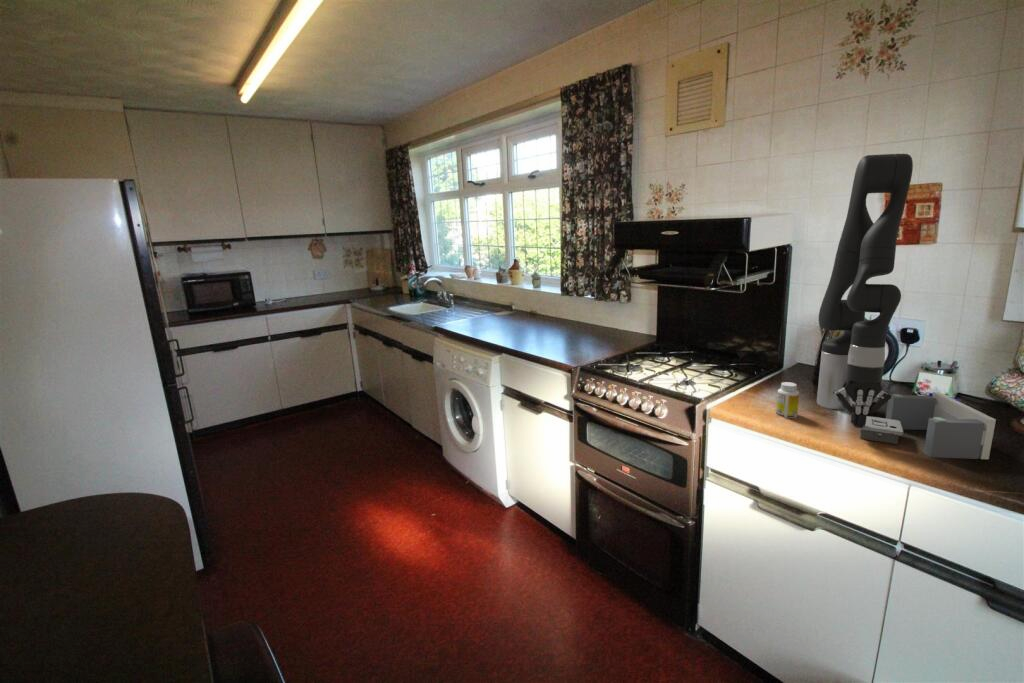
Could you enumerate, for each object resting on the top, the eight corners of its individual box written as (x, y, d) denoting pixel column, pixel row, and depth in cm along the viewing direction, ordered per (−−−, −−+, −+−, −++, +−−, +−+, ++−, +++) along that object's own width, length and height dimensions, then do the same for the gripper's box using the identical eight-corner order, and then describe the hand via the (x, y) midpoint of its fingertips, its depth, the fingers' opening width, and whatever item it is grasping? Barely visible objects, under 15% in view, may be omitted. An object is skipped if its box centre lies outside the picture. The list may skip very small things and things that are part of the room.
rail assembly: (884, 425, 133) (889, 391, 131) (933, 426, 131) (939, 392, 129) (930, 457, 115) (936, 418, 112) (988, 459, 112) (996, 419, 110)
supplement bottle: (798, 415, 143) (801, 383, 141) (794, 421, 139) (797, 388, 137) (778, 411, 147) (780, 380, 144) (773, 417, 143) (776, 384, 140)
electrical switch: (905, 433, 119) (860, 420, 124) (897, 451, 121) (854, 437, 126) (901, 420, 127) (860, 409, 131) (894, 437, 128) (853, 425, 133)
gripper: (887, 359, 123) (878, 422, 127) (830, 358, 126) (823, 420, 130) (903, 366, 116) (894, 433, 120) (843, 365, 119) (835, 430, 122)
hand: (857, 426), depth 125 cm, fingers closed
